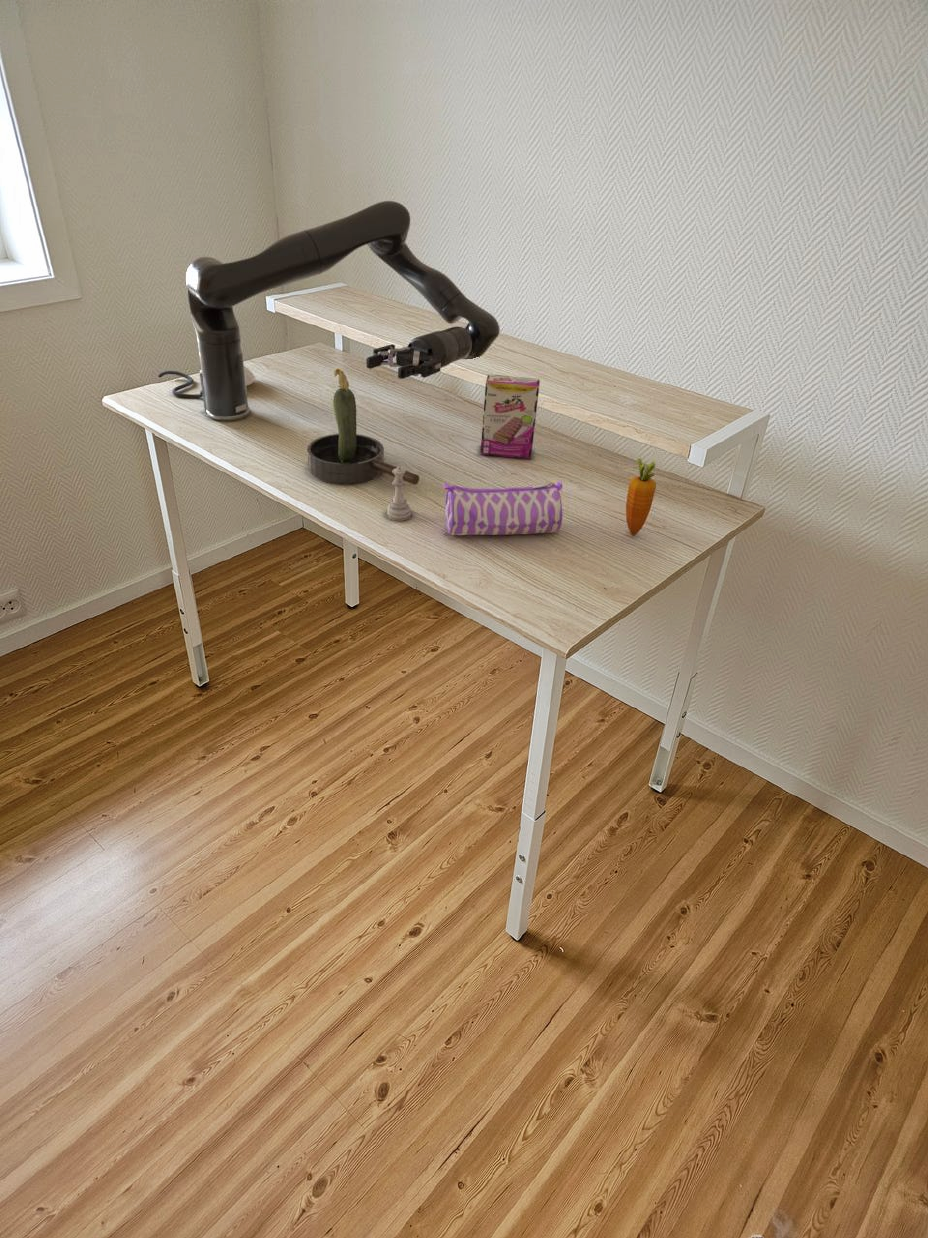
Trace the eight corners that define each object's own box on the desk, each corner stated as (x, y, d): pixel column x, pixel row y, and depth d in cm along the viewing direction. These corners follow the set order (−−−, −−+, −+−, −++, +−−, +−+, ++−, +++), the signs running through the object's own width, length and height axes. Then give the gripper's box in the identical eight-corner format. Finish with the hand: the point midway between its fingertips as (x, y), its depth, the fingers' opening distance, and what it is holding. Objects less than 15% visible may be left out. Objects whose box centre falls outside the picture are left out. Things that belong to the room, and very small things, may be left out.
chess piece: (384, 511, 156) (383, 462, 150) (406, 508, 157) (406, 459, 151) (391, 522, 152) (390, 472, 146) (413, 519, 154) (414, 469, 148)
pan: (292, 469, 168) (290, 449, 166) (345, 447, 179) (344, 427, 176) (347, 493, 161) (347, 471, 158) (399, 467, 171) (399, 447, 169)
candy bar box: (479, 455, 178) (484, 381, 169) (481, 446, 182) (486, 373, 173) (531, 460, 177) (539, 385, 168) (532, 450, 182) (540, 377, 172)
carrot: (616, 528, 154) (629, 453, 146) (642, 528, 155) (657, 454, 146) (623, 542, 150) (637, 465, 142) (649, 542, 151) (665, 466, 142)
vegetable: (361, 464, 171) (359, 368, 159) (350, 472, 167) (347, 374, 156) (343, 459, 172) (339, 363, 160) (331, 467, 169) (327, 370, 157)
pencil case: (552, 515, 157) (558, 470, 152) (567, 540, 150) (574, 493, 145) (438, 522, 153) (439, 475, 148) (447, 548, 146) (449, 499, 140)
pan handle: (370, 469, 164) (369, 460, 163) (376, 466, 165) (376, 457, 164) (412, 486, 159) (412, 476, 158) (419, 482, 160) (419, 473, 159)
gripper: (408, 326, 179) (357, 341, 168) (460, 340, 173) (410, 358, 162) (408, 360, 184) (357, 378, 173) (459, 376, 177) (410, 395, 166)
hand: (383, 368), depth 167 cm, fingers open, 8 cm apart
